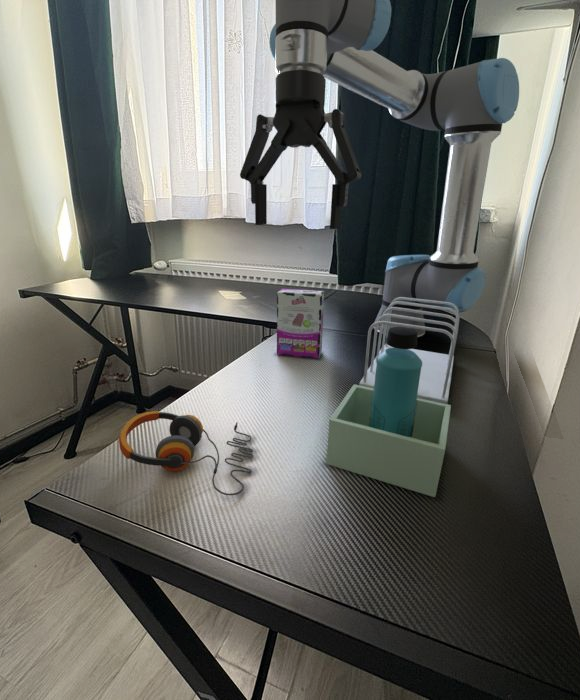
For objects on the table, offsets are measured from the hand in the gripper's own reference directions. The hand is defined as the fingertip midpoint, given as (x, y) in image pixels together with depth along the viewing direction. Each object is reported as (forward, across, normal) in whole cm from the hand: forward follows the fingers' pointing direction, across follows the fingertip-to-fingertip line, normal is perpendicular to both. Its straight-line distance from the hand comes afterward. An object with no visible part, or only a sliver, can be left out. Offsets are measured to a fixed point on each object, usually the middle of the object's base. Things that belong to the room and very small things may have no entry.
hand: (296, 226), depth 63 cm
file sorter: (+33, +20, +22) cm, 44 cm away
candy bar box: (+33, -8, +22) cm, 40 cm away
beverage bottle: (+32, +21, -10) cm, 40 cm away
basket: (+33, +21, -10) cm, 40 cm away
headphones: (+33, -6, -24) cm, 41 cm away
